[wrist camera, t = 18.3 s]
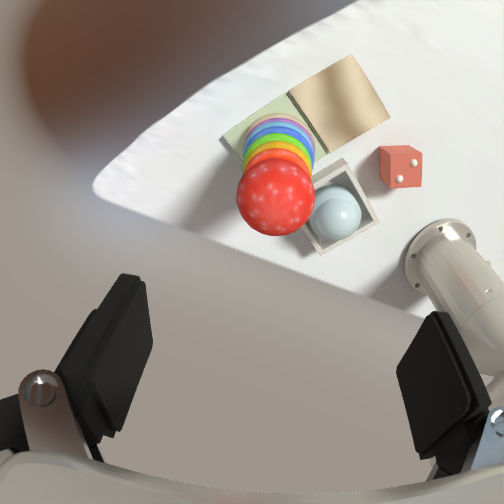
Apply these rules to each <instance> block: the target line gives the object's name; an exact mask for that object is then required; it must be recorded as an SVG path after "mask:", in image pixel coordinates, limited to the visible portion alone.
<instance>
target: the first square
mask: <svg viewBox="0 0 504 504" xmlns="http://www.w3.org/2000/svg"><path fill="white" fill-rule="evenodd" d="M289 92H290V93H291V95H292V96H293V98H294V99H295V100H296V102H297V103H298V105H299V106H300V108H301V109H302V110H303V112H304V113H305V115H306V116H307V118H308V119H309V121H310V122H311V124H312V125H313V127H314V128H315V130H316V131H317V133H318V134H319V136H320V137H321V139H322V140H323V142H324V143H325V145H326V147H327V148H328V150H329V151H330V153H331V152H332V151H334V150H336V149H337V148H339V147H341V146H343V145H344V144H346V143H348V142H349V141H351V140H353V139H354V138H356V137H358V136H359V135H361V134H363V133H365V132H366V131H368V130H370V129H371V128H373V127H375V126H377V125H378V124H380V123H382V122H384V121H385V120H387V119H389V118H390V116H389V114H388V112H387V110H386V109H385V107H384V105H383V103H382V102H381V100H380V98H379V96H378V95H377V93H376V91H375V90H374V88H373V86H372V85H371V83H370V81H369V80H368V78H367V76H366V75H365V73H364V72H363V70H362V68H361V67H360V65H359V64H358V62H357V61H356V59H355V58H354V56H353V55H349V56H348V57H346V58H344V59H342V60H340V61H338V62H337V63H335V64H333V65H331V66H329V67H328V68H326V69H324V70H322V71H321V72H319V73H317V74H316V75H314V76H312V77H310V78H309V79H307V80H305V81H304V82H302V83H300V84H299V85H297V86H296V87H294V88H292V89H291V90H289Z"/></svg>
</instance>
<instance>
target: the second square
mask: <svg viewBox="0 0 504 504" xmlns="http://www.w3.org/2000/svg"><path fill="white" fill-rule="evenodd" d="M272 113H284V114H289V115H292V116H294V117H296V118H298V119H299V120H301V121H302V122H303V123H304V124H305V125H306V126H307V127H308V125H307V124H306V122H305V121H304V119H303V118H302V116H301V115H300V113H299V112H298V111H297V109H296V108H295V106H294V105H293V104H292V102H291V101H290V99H289V98H288V97H287V95H286V94H285V93H284V94H283V95H281V96H280V97H278V98H276V99H275V100H273V101H272V102H270V103H269V104H267V105H266V106H264V107H263V108H261V109H260V110H258V111H257V112H255V113H254V114H252V115H251V116H249V117H248V118H246V119H245V120H243V121H242V122H241V123H239V124H238V125H236V126H235V127H233V128H232V129H231V130H229V131H228V132H226V133H225V134H224V135H223V137H224V138H225V139H226V140H227V142H228V143H229V144H230V146H231V147H232V148H233V149H234V151H235V152H236V153H237V155H238V156H239V157H240V159H241V160H242V161H243V140H244V136H245V134H246V131H247V130H248V128H249V127H250V126H251V124H252V123H253V122H254V121H256V120H257V119H259V118H260V117H262V116H265V115H267V114H272ZM308 128H309V127H308ZM309 130H310V128H309ZM310 132H311V133H312V131H311V130H310ZM312 136H313V138H314V142H315V160H314V162H316V161H318V160H319V159H321V158H322V157H324V156H326V155H327V154H326V153H325V151H324V149H323V148H322V146H321V145H320V143H319V142H318V140H317V139H316V137H315V136H314V134H313V133H312Z"/></svg>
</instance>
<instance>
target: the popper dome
mask: <svg viewBox="0 0 504 504" xmlns="http://www.w3.org/2000/svg"><path fill="white" fill-rule="evenodd" d="M309 220H310V224H311V227H312V229H313V231H314V232H315V233H316V234H317V235H318V236H319V237H321V238H323V239H325V240H329V241H338V240H343V239H345V238H347V237H349V236H350V235H352V234H353V233H354V232H355V231H356V229H357V228H358V226H359V224H360V221H361V209H360V206H359V204H358V203H357V201H356V200H355V198H354V196H353V195H352V193H351V192H350V191H349V190H348V189H346V188H345V187H343V186H340V185H335V184H330V185H325V186H322V187H320V188H319V189H317V190H316V191H315V204H314V208H313V212H312V214H311V215H310V217H309Z"/></svg>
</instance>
